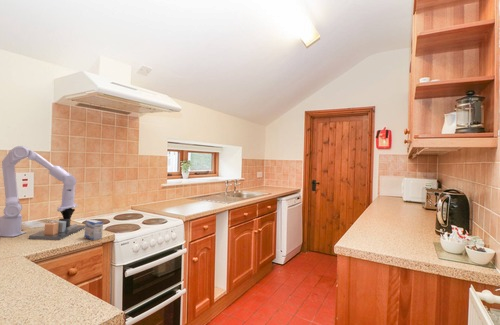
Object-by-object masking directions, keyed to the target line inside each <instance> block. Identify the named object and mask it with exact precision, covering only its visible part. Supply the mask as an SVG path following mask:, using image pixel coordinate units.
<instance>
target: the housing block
mask: <svg viewBox="0 0 500 325" xmlns="http://www.w3.org/2000/svg"><path fill="white" fill-rule="evenodd" d="M50 221H51V222H50V223H45V224H44V230H45V233H44V234H46V235H54V234H56V233H58V226H59V223H54V221H55V220H50Z"/></svg>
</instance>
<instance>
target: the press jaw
mask: <svg viewBox="0 0 500 325" xmlns="http://www.w3.org/2000/svg"><path fill="white" fill-rule="evenodd" d="M51 221H52V220H50V221H48V223H50V222H51ZM53 221H54V223H59V226H58V232H64V231H66V227H69V226H70V225H71V219H63V218H59V219H58V220H53Z"/></svg>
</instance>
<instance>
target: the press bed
mask: <svg viewBox="0 0 500 325" xmlns="http://www.w3.org/2000/svg"><path fill="white" fill-rule="evenodd" d="M84 228H85V224H83V225H81V224H78V223H75V224H70V226H69V227H66V231H64V232H58V233H56V234H54V235H46V234H44V233H45V229H44V230H41V231H39V232H36V233H32V234H29V235H28V239H29V240H49V241H53V240H55V241H61V240H63V239H65V238H67V237H69V235H70V236H71V234H72V235H74V234H77V233H79V232H81V231H83V230H85V229H84ZM82 229H83V230H82ZM80 230H81V231H80ZM78 231H79V232H78ZM73 233H74V234H73Z"/></svg>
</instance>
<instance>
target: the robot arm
mask: <svg viewBox="0 0 500 325" xmlns="http://www.w3.org/2000/svg"><path fill="white" fill-rule="evenodd" d="M24 159H27V160H31V161H35V162H36V163H37V164H39V165H40V166H42V167H44V168H45V169H46V170H48V174H49V175H50V176H51V177H53V178H55V179H56V180H57V181H59V182H62V184H63V186H62V192H61V193H62V195H61V205H60V206H59V207H57V211H56V212H60V213H61V215H62V219H71V218H72V215H73V214H74V212H75V208H78V203H75V199H76V194H75V193H76V183H77V179H76V177H75V176H74V175H72V173H71V172H67V170H65V169H64V167H63V166H62V165H60V166H59V165H53V163H51V162H50V161H48V160H47V159H46V158H44V157H43V156H42V155H40V154H39V153H37V152H35V151H34V150H32V149H29V148H28V147H26V146H24V145H17V146H15V147H13V148H12V149H10V150H9V152H7V154H6V155H5V157H4V158H3V160H2V161H1V169H2V176H3V187H4V194H5V202H4V203H5V207H4V209H3V216H0V237H7V238H8V237H9V238H12V237H13V238H14V237H17V236H21V235H23V234H26V231H22V225H23V224H22V223H23V214H21V213H22V212H21V211H22V209H23V206H22V204H21V202H20V200H19V193H18V192H19V191H18V184H17V183H18V182H17V174H16V165H17V164H18V163H19V162H20V161H22V160H24Z"/></svg>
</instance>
